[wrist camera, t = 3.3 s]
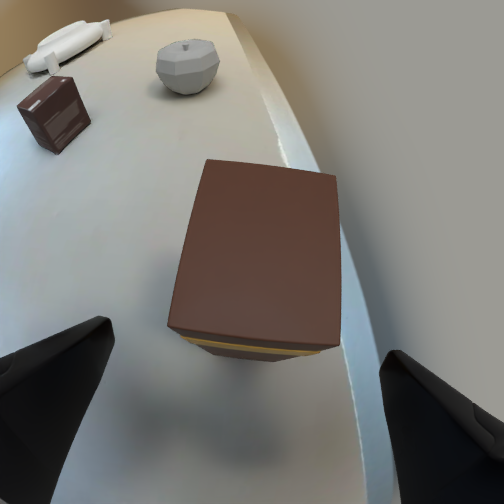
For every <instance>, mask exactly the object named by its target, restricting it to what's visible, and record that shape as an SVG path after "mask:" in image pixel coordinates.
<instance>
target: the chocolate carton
mask: <svg viewBox="0 0 504 504" xmlns="http://www.w3.org/2000/svg"><path fill="white" fill-rule="evenodd" d="M167 326H168V327H169V328H170V329H172V330H174V331H175V332H177V333H178V334H180V336H181V338H183V339H185V340H186V341H188V342H190V343H193V344H196V345H198V346H199V347H201V348H203V349H204V350H206V351H208V352H210V353H211V354H213V355H217V356H224V357H232V358H240V359H249V360H258V361H269V362H276V361H281V360H285V359H290V358H294V357H298V356H309V355H313V354H317V353H320V351H322V350H326V349H330V348H333V347H337V346H339V345H340V333H341V243H340V222H339V208H338V194H337V182H336V176H334V175H329V174H323V173H318V172H311V171H305V170H299V169H292V168H285V167H278V166H270V165H262V164H253V163H244V162H234V161H222V160H210V159H207V160H206V162H205V166H204V169H203V173H202V176H201V180H200V183H199V187H198V190H197V194H196V198H195V201H194V205H193V209H192V213H191V217H190V221H189V225H188V229H187V233H186V237H185V241H184V245H183V250H182V254H181V258H180V263H179V267H178V272H177V277H176V282H175V286H174V291H173V296H172V301H171V307H170V312H169V317H168V323H167Z"/></svg>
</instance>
